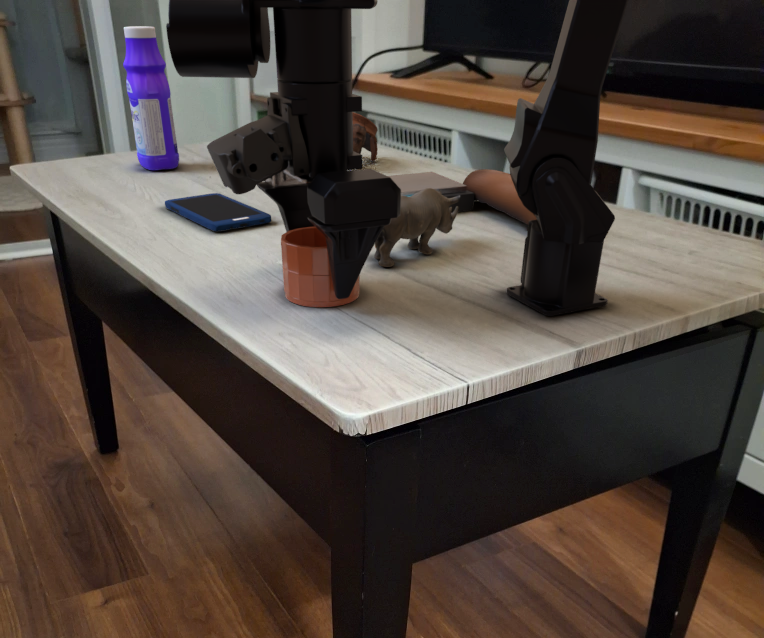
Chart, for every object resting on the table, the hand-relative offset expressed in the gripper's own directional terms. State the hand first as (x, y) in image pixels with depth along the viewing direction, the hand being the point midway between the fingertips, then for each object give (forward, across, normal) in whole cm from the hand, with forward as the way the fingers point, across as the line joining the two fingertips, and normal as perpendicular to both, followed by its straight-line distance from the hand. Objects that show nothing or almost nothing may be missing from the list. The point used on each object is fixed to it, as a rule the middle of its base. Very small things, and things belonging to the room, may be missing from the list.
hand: (322, 282), depth 67 cm
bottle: (+1, -60, -1) cm, 60 cm away
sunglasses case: (+1, -15, +32) cm, 35 cm away
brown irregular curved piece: (+1, -51, +25) cm, 57 cm away
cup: (+1, 0, 0) cm, 1 cm away
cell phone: (+1, -30, -1) cm, 30 cm away
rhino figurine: (+1, -8, +14) cm, 16 cm away
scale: (+1, -25, +19) cm, 31 cm away
